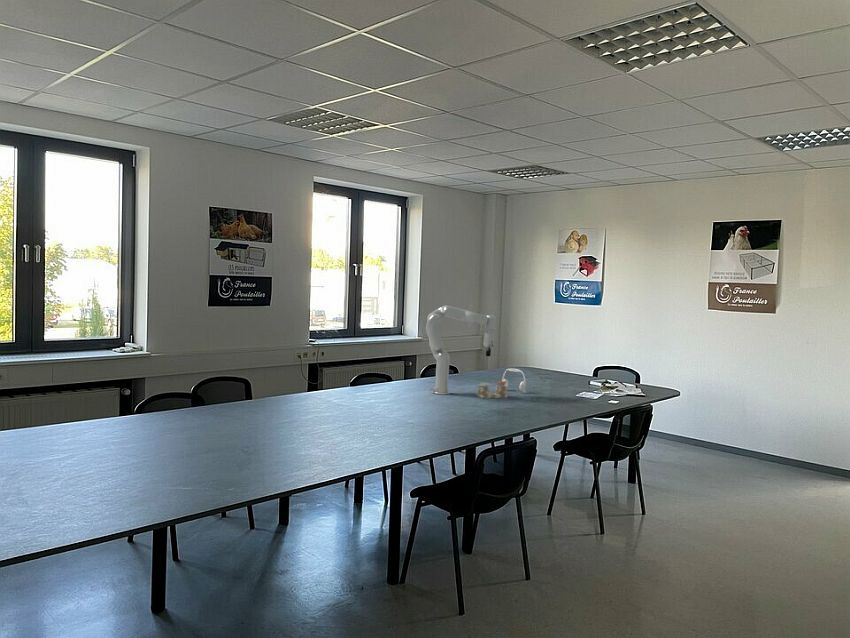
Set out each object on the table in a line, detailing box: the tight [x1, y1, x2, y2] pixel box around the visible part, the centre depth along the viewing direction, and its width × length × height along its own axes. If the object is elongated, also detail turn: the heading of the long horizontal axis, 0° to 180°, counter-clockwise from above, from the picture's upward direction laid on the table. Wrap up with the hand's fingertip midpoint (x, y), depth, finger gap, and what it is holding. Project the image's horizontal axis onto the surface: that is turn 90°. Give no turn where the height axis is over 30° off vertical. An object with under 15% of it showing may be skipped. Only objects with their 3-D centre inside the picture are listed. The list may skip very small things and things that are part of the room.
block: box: [476, 385, 509, 399], centre depth 466 cm, size 20×10×8 cm, turn 107°
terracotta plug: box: [497, 380, 505, 387], centre depth 468 cm, size 5×5×8 cm
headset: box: [501, 368, 527, 394], centre depth 492 cm, size 20×7×18 cm, turn 53°
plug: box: [479, 382, 489, 387], centre depth 464 cm, size 5×5×8 cm
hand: (488, 356), depth 476 cm, fingers closed
